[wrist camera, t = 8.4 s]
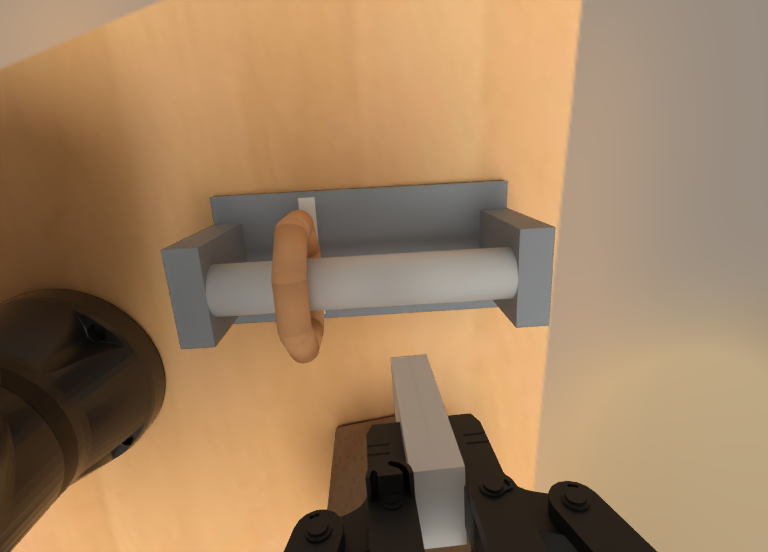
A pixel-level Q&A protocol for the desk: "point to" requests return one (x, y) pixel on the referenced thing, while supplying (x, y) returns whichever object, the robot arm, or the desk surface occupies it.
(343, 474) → the wooden block
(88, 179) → the desk surface
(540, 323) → the pipe stand
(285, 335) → the o-ring
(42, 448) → the robot arm
